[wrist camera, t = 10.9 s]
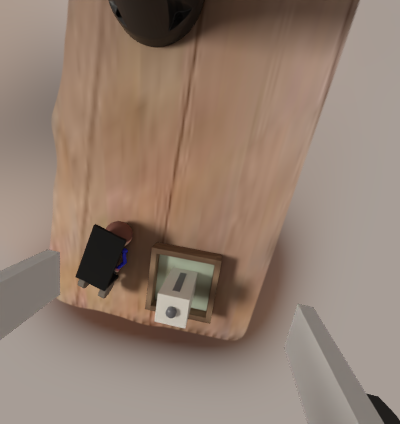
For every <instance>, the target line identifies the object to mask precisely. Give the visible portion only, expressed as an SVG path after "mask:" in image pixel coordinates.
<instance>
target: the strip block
mask: <svg viewBox="0 0 400 424" xmlns="http://www.w3.org/2000/svg"><path fill="white" fill-rule="evenodd" d="M197 274H198V272H195V271H190V270H185V269H180V268H175V267H173V268H172V269H171V271H170V273H169V275H168V276H167V278H166V280H165V282H164V283H163V285H162V287H161V289H160V290H159V292H158V296H157V304H156V312H155V322H159V323H163V324H168V325H172V326H176V327H181V328H186V324H187V320H188V316H189V313H190V309H191V305H192V301H193V298H194V293H195V287H196V281H197Z"/></svg>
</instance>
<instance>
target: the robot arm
mask: <svg viewBox="0 0 400 424" xmlns="http://www.w3.org/2000/svg"><path fill="white" fill-rule="evenodd" d="M203 1H204V0H109V3H110V6H111V9H112V11H113V13H114V15H115V17H116V18H117V20H118V21H119V23H120V24H121V25H122V27H123V28H124V30H125V31H126V32H127V33H128V34H129V35H130V36H131V37H132V38H133V39H134V40H136V41H137V42H139V43H141V44H144V45H147V46H153V47H160V46H166V45H169V44H172V43H174V42H176V41H178V40H179V39H181V38H182V37H183V36H185V35H186V34H187V33H188V32H189V30H190V29H191V28H192V27H193V25H194V24H195V22H196V20H197V19H198V17H199V14H200V12H201V9H202V6H203ZM59 295H60V252H57V251H52V250H46V251H43V252H41V253H39V254H36V255H34V256H32V257H30V258H28V259H26V260H23V261H21V262H19V263H17V264H15V265H12V266H10V267H8V268H6V269H4V270H2V271H0V340H1V339H2V338H3V337H5V336H6V335H7V334H9V333H10V332H11V331H13V330H14V329H15V328H17V327H18V326H19V325H21V324H22V323H23V322H24V321H26V320H27V319H28V318H30V317H31V316H32V315H34V314H35V313H36V312H38V311H39V310H40V309H42V308H43V307H44V306H45V305H47V304H48V303H49V302H51V301H52V300H53V299H54V298H56V297H57V296H59ZM284 349H285V352H286V355H287V359H288V362H289V365H290V368H291V372H292V375H293V378H294V381H295V385H296V388H297V391H298V394H299V397H300V401H301V404H302V407H303V410H304V413H305V417H306V420H307V423H308V424H400V420H399V419H398V418H397V416H396V415H395V414H394V413H393V412H392V411H391V409H390V408H389V407H388V406H387V405H386V404H385V403H384V402H383V401H382V400H381V399H380V398H379V397H378V396H374V395H370V394H366V393H365V391H364V389H363V388H362V386H361V385H360V383H359V381H358V380H357V378H356V376H355V375H354V373H353V371H352V370H351V368H350V367H349V365H348V363H347V362H346V360H345V358H344V357H343V355H342V353H341V352H340V350H339V348H338V347H337V345H336V344H335V342H334V341H333V339H332V337H331V335H330V334H329V332H328V330H327V329H326V327H325V325H324V324H323V322H322V321H321V319H320V318H319V316H318V314H317V312H316V311H315V309H314V308H313V307H310V306H305V305H300V304H298V305H297V308H296V311H295V314H294V318H293V321H292V324H291V327H290V331H289V334H288V337H287V340H286V343H285V347H284Z"/></svg>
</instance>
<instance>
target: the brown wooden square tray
mask: <svg viewBox="0 0 400 424" xmlns="http://www.w3.org/2000/svg"><path fill="white" fill-rule="evenodd" d="M221 262H222V255H221V254H216V253H210V252H205V251H200V250H195V249H190V248H184V247H179V246H174V245H169V244H164V243H159V242H157V243H156V244H155V245H154V246H153V247H152V251H151V261H150V270H149V279H148V288H147V297H146V306H145V309H147V310H152V311H156V304H157V296H158V292H159V290H160V289H161V287H162V285H163V283H164V282H165V280H166V278H167V276H168V275H169V273H170V271H171V269H172V268H173V267H175V268H180V269H185V270H190V271H195V272H198V274H197V281H196V287H195V293H194V298H193V301H192V305H191V309H190V313H189V316H188V319H191V320H196V321H200V322H205V323H209V324H210V321H211V316H212V311H213V305H214V300H215V294H216V289H217V284H218V278H219V273H220V268H221Z"/></svg>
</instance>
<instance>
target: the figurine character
mask: <svg viewBox="0 0 400 424" xmlns="http://www.w3.org/2000/svg"><path fill="white" fill-rule="evenodd" d="M132 236H133V232H132V229H131V227H130V226H129V225H128V224H126V223H124V222H121V221H117V222H113V223H111V224H109V225H108V226H107V228H106V229H104V228H102V227H100V226H98V225H96V224H95V225H94V226H93V229H92V232H91V235H90V237H89V240H88V243H87V246H86V249H85V251H84V254H83V257H82V260H81V263H80V266H79V268H78V271H77V274H76V277H77V278H79V281H78V286H80V287H82V288H86V287H87V286H88V285H89V284H91V285H93V286H95V287H97V288H99V289H100V291H99V293H98V296H100V297H102V298H105V297H106V296H107V295H108V294H109V292H110V291H111V289H112V287H113V285H114V282H115V280H116V279H117V278H118V275H116V272H119V270H120V268H121V267H123V266H124V265H125V264H126V263H127V259H126V253H127V252H128V250H127V249H126V248H124V246H126V245H127V244H128V243H129V242H130V241H131V239H132ZM121 254H122V256H123V262H122V263H121V264H120V265H119V266H118V267H117V263H118V261H119V258H120V256H121Z"/></svg>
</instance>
